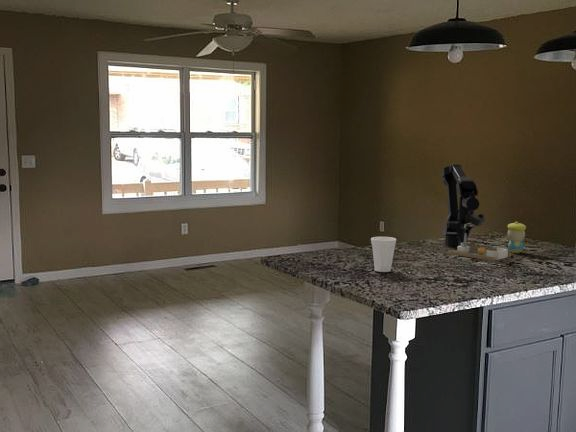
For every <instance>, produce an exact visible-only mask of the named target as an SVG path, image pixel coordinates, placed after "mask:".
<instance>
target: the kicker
mask: <svg viewBox="0 0 576 432" xmlns="http://www.w3.org/2000/svg"><path fill="white" fill-rule="evenodd" d="M466 239H467V233H465V235H464V241H463V243H462V242H461V246H457V247H456V249H457V250H456V251H462V252H469V247H470V246H467V241H466ZM467 240H468V239H467Z"/></svg>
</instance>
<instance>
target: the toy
mask: <svg viewBox="0 0 576 432" xmlns="http://www.w3.org/2000/svg"><path fill="white" fill-rule="evenodd" d="M507 228H508V229H507V238H508V239H509V242H508V244H507V249H508V252H509V253H511V254H520V253H521V252H522V251H523V249H524V244H523V240H524V239H525V237H526V231H525V230H526V229H527V226H526V225H525V224H523V223H519V222H518V221H514V222H512V223H508V224H507Z"/></svg>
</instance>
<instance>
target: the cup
mask: <svg viewBox="0 0 576 432" xmlns="http://www.w3.org/2000/svg"><path fill="white" fill-rule="evenodd" d="M370 243H371V247H372V257H373V264H374V265H373V266H374V271H376V272H380V273H389V272H391V270H392V265H393V259H394V254H395V248H396V245H397V244H396V243H397V238H395V237H391V236H373V237H371V238H370Z"/></svg>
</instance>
